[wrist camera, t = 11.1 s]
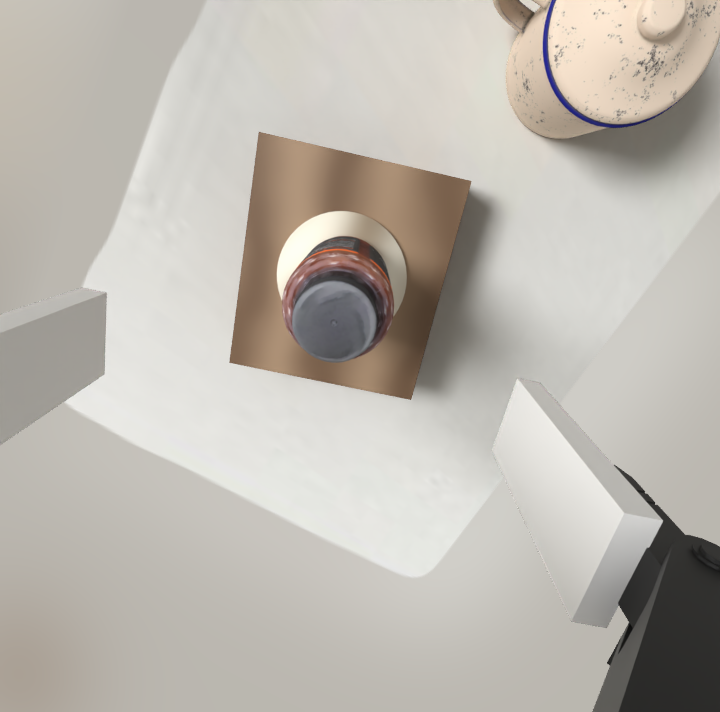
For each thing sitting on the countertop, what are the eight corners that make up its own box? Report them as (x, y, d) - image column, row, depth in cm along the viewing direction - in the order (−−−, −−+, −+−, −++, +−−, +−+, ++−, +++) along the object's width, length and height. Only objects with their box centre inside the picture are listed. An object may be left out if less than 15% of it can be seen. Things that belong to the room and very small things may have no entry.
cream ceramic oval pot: (661, 41, 32) (816, -41, 21) (578, 167, 34) (676, 154, 23) (515, -63, 30) (601, -212, 19) (440, 79, 33) (477, 20, 22)
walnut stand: (457, 182, 35) (472, 181, 30) (406, 375, 40) (411, 401, 35) (274, 140, 34) (257, 131, 29) (246, 342, 39) (227, 364, 34)
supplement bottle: (284, 269, 32) (241, 308, 21) (353, 216, 31) (345, 228, 20) (337, 336, 33) (322, 404, 23) (405, 288, 32) (423, 335, 21)
